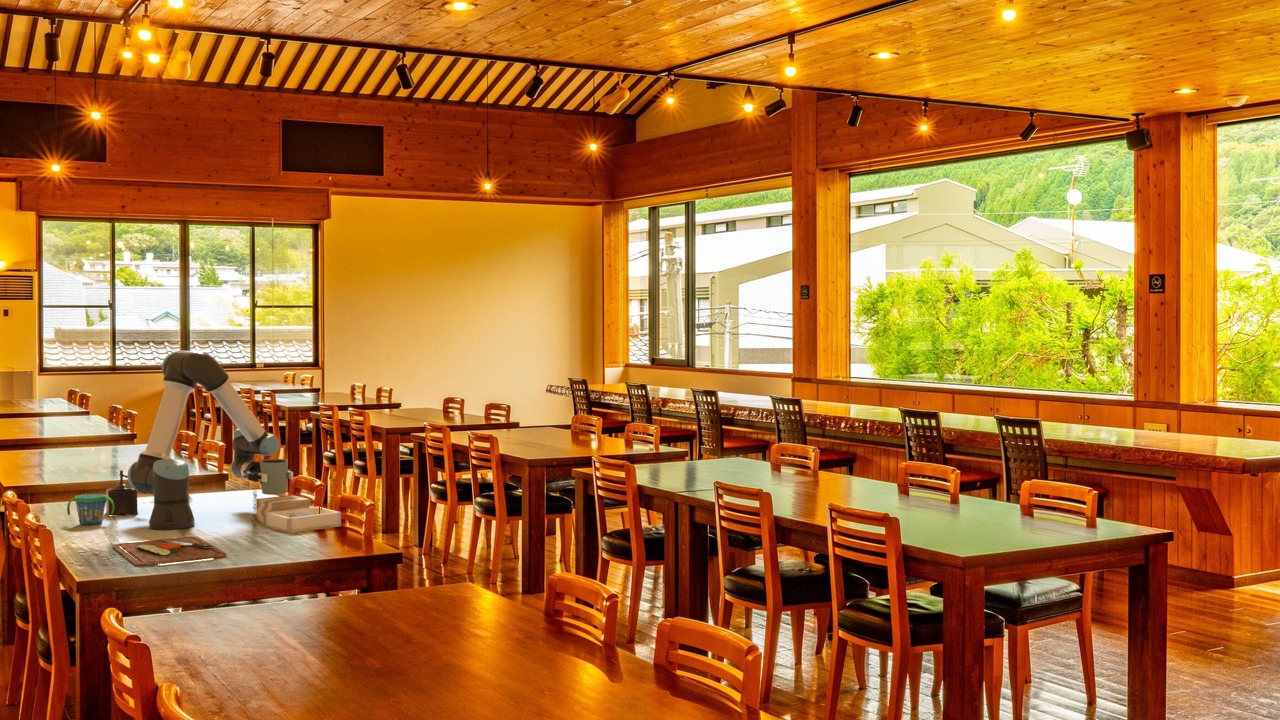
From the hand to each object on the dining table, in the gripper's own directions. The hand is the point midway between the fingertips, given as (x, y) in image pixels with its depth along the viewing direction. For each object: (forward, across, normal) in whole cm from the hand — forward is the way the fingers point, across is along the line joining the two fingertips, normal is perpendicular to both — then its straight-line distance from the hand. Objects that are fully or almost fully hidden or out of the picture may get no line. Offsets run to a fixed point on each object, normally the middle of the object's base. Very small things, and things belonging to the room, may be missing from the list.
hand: (279, 476), depth 439 cm
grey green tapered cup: (-5, 0, -6) cm, 8 cm away
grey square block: (+21, +1, -11) cm, 23 cm away
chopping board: (+36, +53, -16) cm, 66 cm away
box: (+20, 0, -16) cm, 26 cm away
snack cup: (-36, +55, -16) cm, 68 cm away
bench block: (+4, +1, -16) cm, 16 cm away
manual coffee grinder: (-52, +37, -16) cm, 66 cm away
